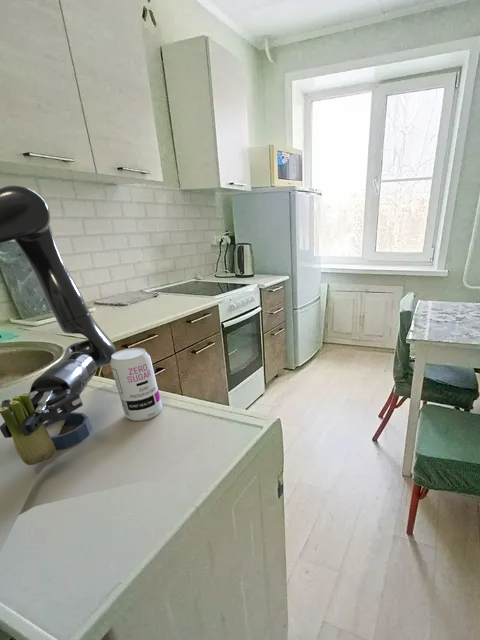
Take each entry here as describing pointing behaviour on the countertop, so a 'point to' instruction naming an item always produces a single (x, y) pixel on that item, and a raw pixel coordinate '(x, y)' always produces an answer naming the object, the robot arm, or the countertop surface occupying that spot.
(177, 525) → the countertop surface
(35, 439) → the fennel bulb
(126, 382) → the supplement can
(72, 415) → the ring
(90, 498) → the countertop surface
